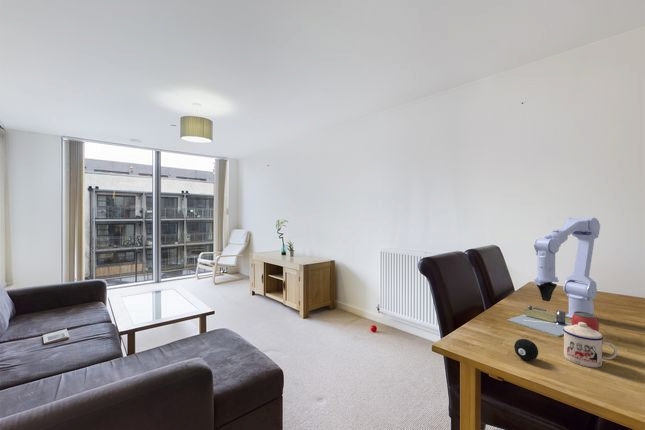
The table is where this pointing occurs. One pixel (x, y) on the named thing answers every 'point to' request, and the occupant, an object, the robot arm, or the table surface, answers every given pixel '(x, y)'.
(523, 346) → the billiard ball
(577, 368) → the table surface
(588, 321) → the beer can
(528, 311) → the swing bar
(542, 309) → the block
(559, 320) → the door knob
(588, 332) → the teacup with lid
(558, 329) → the door panel
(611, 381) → the table surface
